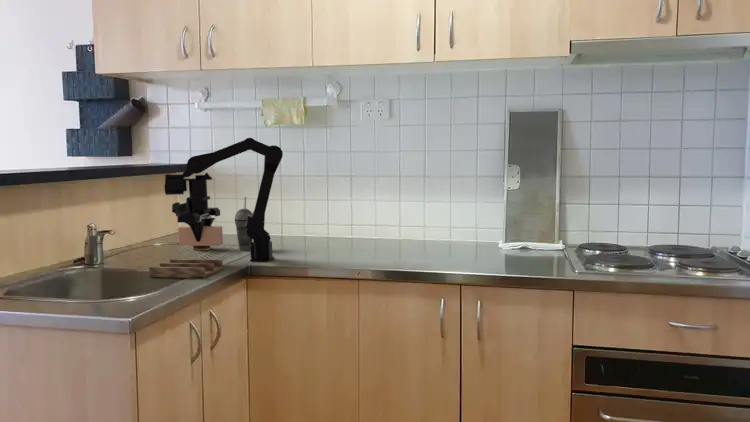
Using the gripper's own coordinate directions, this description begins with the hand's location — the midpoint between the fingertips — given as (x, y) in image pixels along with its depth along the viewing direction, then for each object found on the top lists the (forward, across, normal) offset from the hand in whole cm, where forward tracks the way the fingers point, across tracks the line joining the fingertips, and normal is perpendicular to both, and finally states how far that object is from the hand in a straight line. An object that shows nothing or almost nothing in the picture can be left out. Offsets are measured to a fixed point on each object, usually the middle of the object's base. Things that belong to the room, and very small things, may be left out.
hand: (201, 240), depth 201 cm
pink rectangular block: (+1, 0, 0) cm, 1 cm away
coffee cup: (+8, -26, -14) cm, 31 cm away
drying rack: (+8, +14, +2) cm, 16 cm away
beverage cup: (+8, -26, +4) cm, 28 cm away
